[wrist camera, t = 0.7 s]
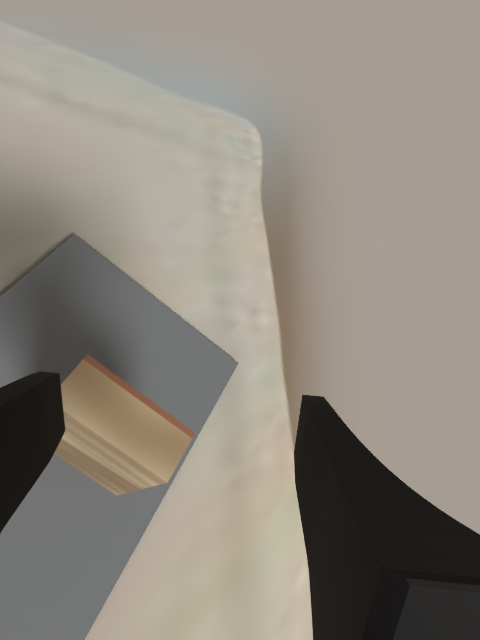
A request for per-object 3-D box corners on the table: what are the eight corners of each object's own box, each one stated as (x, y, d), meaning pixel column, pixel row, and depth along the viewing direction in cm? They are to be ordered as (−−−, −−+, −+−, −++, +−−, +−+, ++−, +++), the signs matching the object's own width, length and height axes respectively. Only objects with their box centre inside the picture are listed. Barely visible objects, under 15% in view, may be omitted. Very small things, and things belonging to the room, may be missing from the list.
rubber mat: (61, 676, 20) (62, 678, 20) (-244, 506, 17) (-248, 505, 17) (235, 364, 32) (238, 363, 32) (73, 236, 29) (74, 233, 29)
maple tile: (116, 495, 24) (167, 482, 18) (27, 435, 23) (47, 399, 17) (140, 457, 25) (195, 433, 19) (57, 399, 24) (87, 354, 18)
